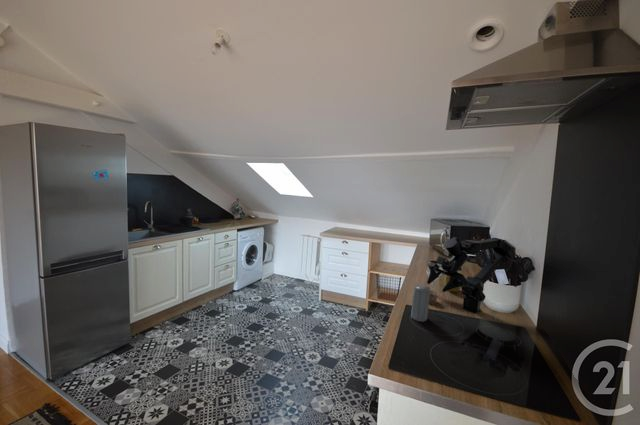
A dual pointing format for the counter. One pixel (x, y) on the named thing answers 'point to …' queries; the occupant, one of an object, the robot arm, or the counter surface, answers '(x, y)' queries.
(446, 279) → the flower pot
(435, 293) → the walnut block
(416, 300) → the tumbler
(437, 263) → the wineglass
